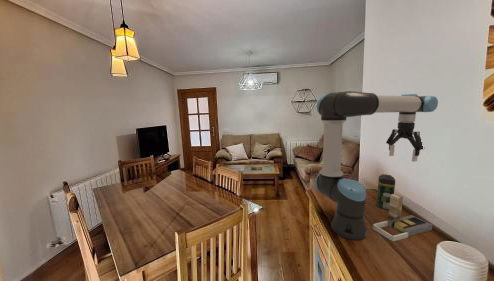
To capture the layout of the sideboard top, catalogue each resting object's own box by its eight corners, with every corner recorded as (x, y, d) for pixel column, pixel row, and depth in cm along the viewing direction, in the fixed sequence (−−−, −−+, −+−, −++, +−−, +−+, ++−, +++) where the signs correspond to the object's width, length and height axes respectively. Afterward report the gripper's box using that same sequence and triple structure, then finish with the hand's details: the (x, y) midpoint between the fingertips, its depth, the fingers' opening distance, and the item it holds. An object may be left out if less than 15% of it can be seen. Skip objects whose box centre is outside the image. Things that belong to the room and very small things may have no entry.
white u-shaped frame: (392, 242, 86) (393, 237, 86) (372, 229, 96) (372, 224, 95) (407, 238, 89) (408, 233, 88) (386, 225, 98) (386, 221, 98)
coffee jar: (375, 201, 123) (378, 172, 120) (391, 204, 120) (394, 174, 117) (376, 208, 115) (379, 177, 112) (393, 211, 111) (397, 179, 108)
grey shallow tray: (406, 237, 89) (407, 231, 89) (387, 226, 98) (387, 220, 97) (431, 230, 94) (432, 224, 93) (411, 220, 102) (411, 215, 102)
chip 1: (402, 232, 92) (403, 226, 91) (394, 228, 96) (394, 222, 95) (407, 231, 93) (408, 225, 92) (398, 226, 97) (399, 221, 96)
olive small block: (410, 230, 93) (411, 224, 93) (401, 226, 97) (402, 220, 97) (415, 229, 94) (415, 223, 94) (406, 224, 98) (406, 219, 98)
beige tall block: (394, 221, 102) (397, 197, 99) (388, 218, 105) (390, 194, 103) (400, 220, 103) (403, 196, 100) (393, 217, 106) (395, 193, 104)
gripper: (436, 123, 103) (431, 163, 106) (391, 120, 127) (387, 153, 130) (425, 123, 101) (420, 164, 104) (381, 120, 125) (378, 154, 128)
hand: (402, 158), depth 117 cm, fingers open, 13 cm apart
